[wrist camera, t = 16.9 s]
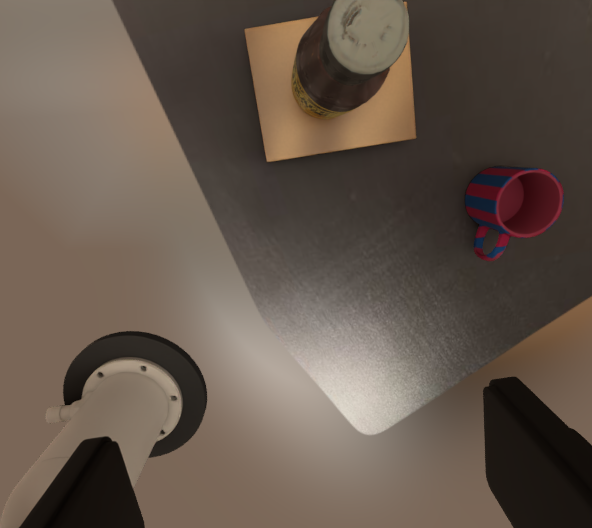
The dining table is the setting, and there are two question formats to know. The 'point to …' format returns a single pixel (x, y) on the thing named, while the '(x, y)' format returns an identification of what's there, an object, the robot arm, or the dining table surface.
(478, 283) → the dining table surface
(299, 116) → the oak stand
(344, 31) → the sauce bottle
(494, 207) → the mug
